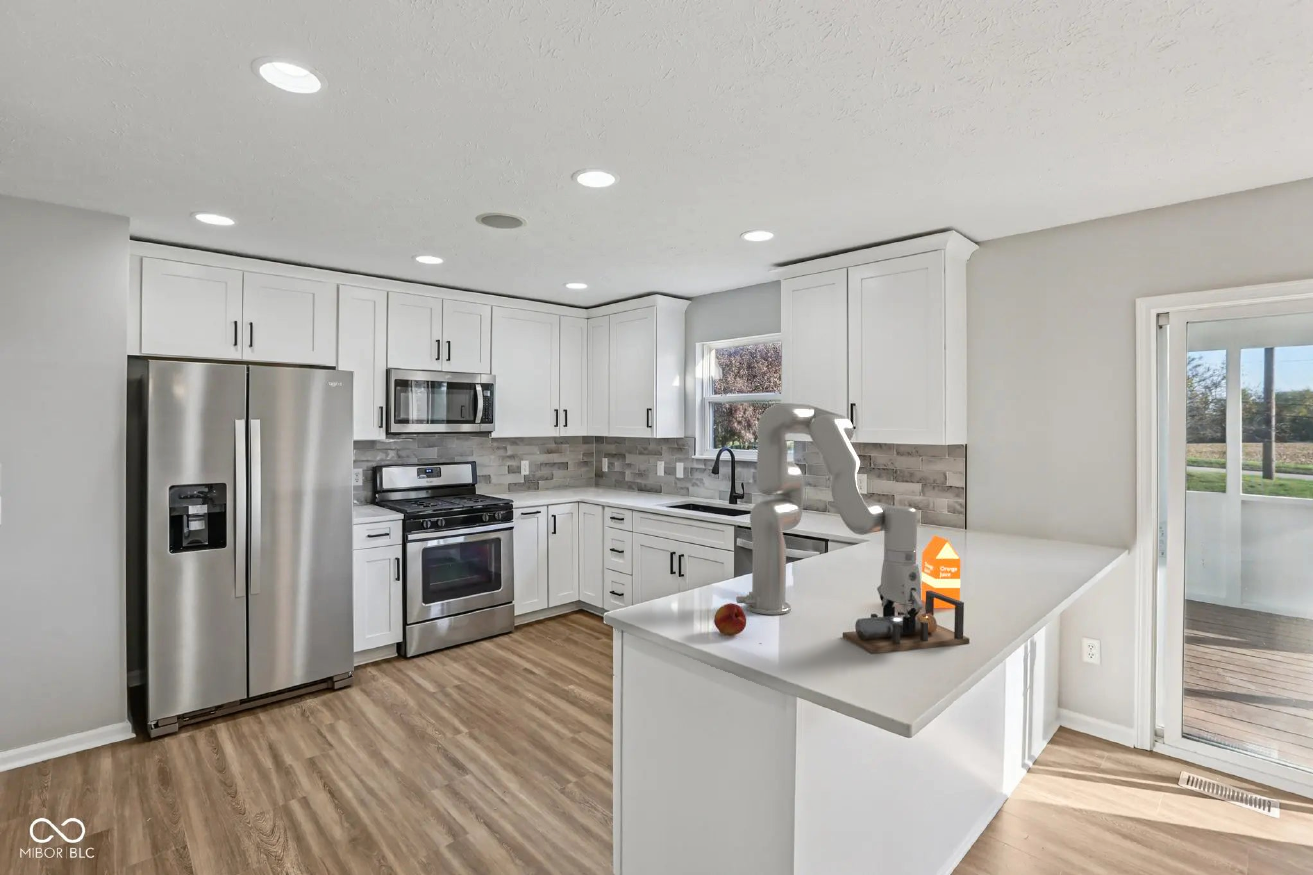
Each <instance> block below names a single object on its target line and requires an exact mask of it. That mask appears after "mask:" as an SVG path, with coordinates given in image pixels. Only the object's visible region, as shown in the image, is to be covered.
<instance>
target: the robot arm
mask: <svg viewBox="0 0 1313 875" xmlns="http://www.w3.org/2000/svg"><path fill="white" fill-rule="evenodd" d="M787 434H801V435H802V434H803V435H807V436H810V438H811V441H812V443H813V445H814V447H815V448H816V451H817V452H818V453H819V456H820V458H821V460H822V462H823V463H824V465H825V467H826V469H827V471H828V474H829V475H830V489H831V490H830V491H831V495H832V499H833V504H834V506H835V508H836V510H837V512H838V513H839V516H840V517H841V519H842V521H843V524H844V525H845V526H846V527H847V528H848V530H849V531H850V532H852V533H854V534H855V535H859V536H860V535H861V536H864V535H869V534H872V533H877V532H878V533H879V532H884V533H883V561H882V566H881V575H880V584H879V585H878V587H877V588H876V590H877V592H878V595H879V599H880V601H881V604H880V605H881V607H882V617H884V616H896V607H895V606H894V605H895V603H896V604H898V605H901V606H902V610H903V612H904V614H905V616H903V633H914V632H915V621H916V617H917V616H918V613H921V611H922V609H923V608H924V603H923V600H921V593H922V581H921V575H920V569H919V564H917V550H918V549H917V542H918V541H917V540H918V539H917V538H918V513H917V510H916V508H914V507H912V506H906V505H904V506H903V505H890V504H886V503H883V502H877V501H875V502H872V501H871V502H865V500H864V499H863V496H862V495H861V493H860V490H859V487H858V483H857V475H858V471H859V469H860V467H861V459H860V458H859V456H858V454H857V452H856V451H855V449H854V447H853V446H852V443H851V442H850V441H851V440H852V438H854V437H853V436H854V425H853V424H852V422H851V420H850V419H849V418H848V417H846V416H844V415H842V414H839V413H835V412H832V411H828V410H826V409H823V408H820V407H817V406H814V405H810V404H806V403H805V404H804V403H789V402H786V403H777V404H774V405H772V406H769V407H768V408H767V409H766V410H765V411H764V412H763V413H762V414H761V416H760V417H759V420H758V424H757V454H756V455H757V456H756V480H755V481H756V482H755V483H756V488H757V489H758V491H759V493H761V494H763V495H767V496H773V497H774V498H772V499H766V500H761V501H759V502H757V503H755V505H754V506H753V507H752V509H751V510H750V515H749V524H750V528H751V537H752V576H751V577H752V581H751V582H752V585H751V586H752V587H751V588H752V589H751V590H752V591H748V594H746V596H744V595H741V596H740V595H739V596H736V598H735V601H736V603H737V604H744V605H746V608H747V610H748V611H751V612H753V613H757V614H761V615H769V616H771V615H772V616H774V615H777V616H778V615H784V614H788V613H789V612H791V610H792V609H791V608H792V605H790V604H789V603H788V602H786V594H787V593H786V586H787V580H786V578H787V546H786V541H785V537H784V533H783V532H784V531H789V530H791V529H795V527H797V526H798V525H799V523H800V522H801V520H802V518H803V517H802V516H803V507H804V505H803V502H804V476H803V472H802V471H801V469H800V467H799V466H798V465H797V464H796V463H794V462H791V461H788V452H789V450H788V448H789V447H788V443H787V440H786V438H785V435H787ZM909 608H910V609H909Z"/></svg>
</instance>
